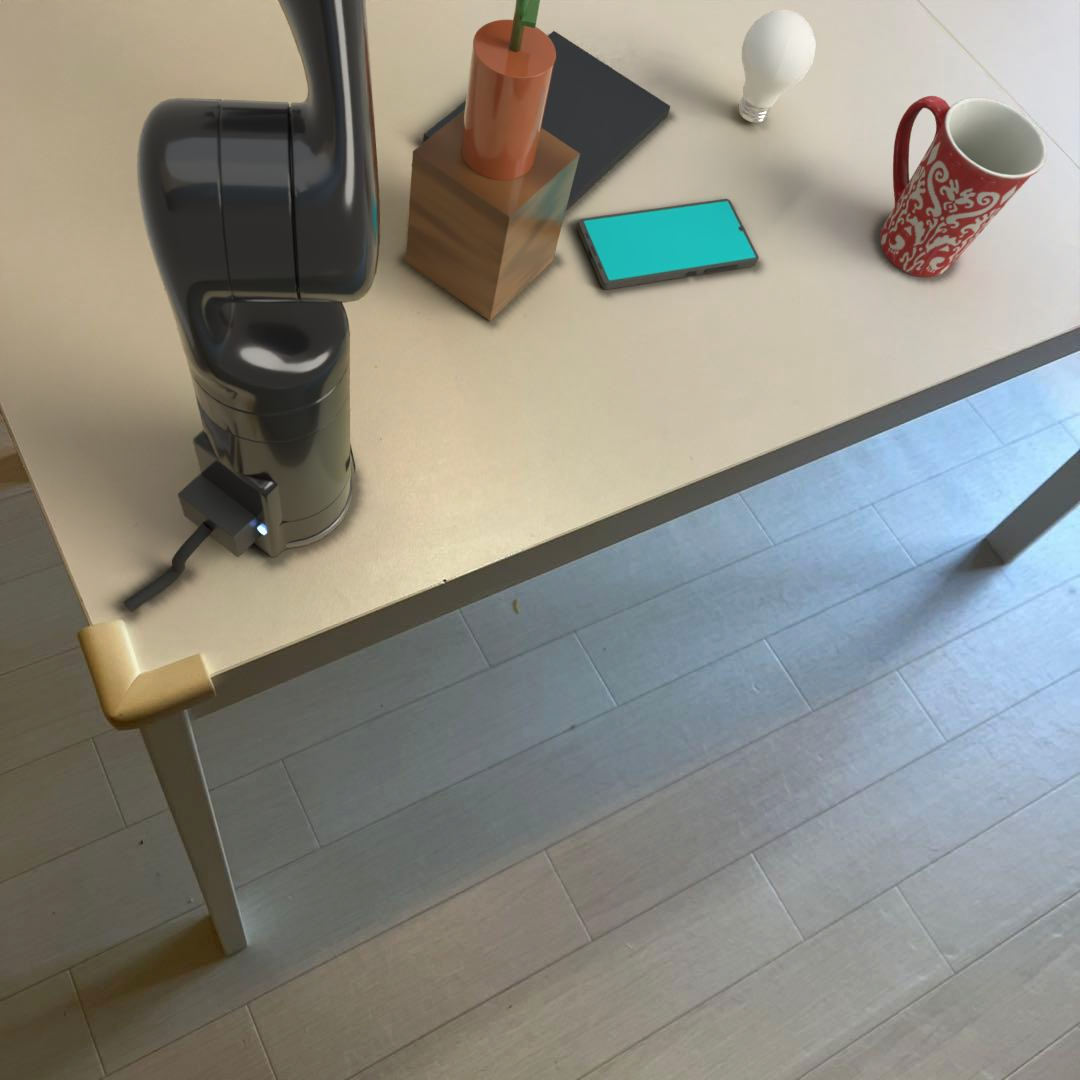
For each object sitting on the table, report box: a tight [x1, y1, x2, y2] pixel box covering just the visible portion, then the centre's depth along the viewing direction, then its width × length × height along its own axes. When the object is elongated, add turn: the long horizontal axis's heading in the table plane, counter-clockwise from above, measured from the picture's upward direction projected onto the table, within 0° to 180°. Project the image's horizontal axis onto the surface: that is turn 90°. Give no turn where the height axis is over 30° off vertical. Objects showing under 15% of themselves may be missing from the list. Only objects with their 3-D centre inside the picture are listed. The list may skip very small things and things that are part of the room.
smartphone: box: [576, 198, 759, 290], centre depth 90 cm, size 7×1×15 cm
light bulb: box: [738, 9, 817, 124], centre depth 95 cm, size 7×7×11 cm
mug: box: [879, 95, 1047, 278], centre depth 91 cm, size 13×9×14 cm
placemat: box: [422, 30, 671, 213], centre depth 94 cm, size 20×14×1 cm
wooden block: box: [405, 110, 580, 322], centre depth 81 cm, size 9×9×12 cm
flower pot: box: [461, 0, 556, 180], centre depth 67 cm, size 6×6×20 cm
